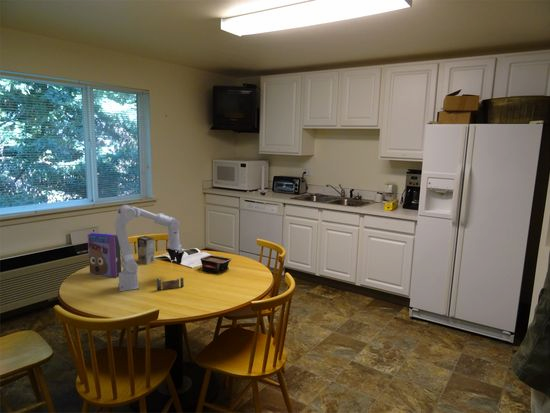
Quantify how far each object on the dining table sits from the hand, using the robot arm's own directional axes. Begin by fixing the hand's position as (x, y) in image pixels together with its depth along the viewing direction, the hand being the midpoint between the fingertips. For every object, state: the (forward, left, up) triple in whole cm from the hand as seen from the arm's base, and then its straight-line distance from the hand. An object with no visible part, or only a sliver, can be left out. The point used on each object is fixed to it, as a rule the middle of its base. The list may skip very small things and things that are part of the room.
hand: (176, 262), depth 213 cm
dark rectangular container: (+25, +7, -10) cm, 28 cm away
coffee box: (-13, +36, -10) cm, 40 cm away
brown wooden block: (-5, -14, -10) cm, 17 cm away
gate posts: (-5, -14, -10) cm, 18 cm away
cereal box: (-37, +20, -10) cm, 43 cm away
